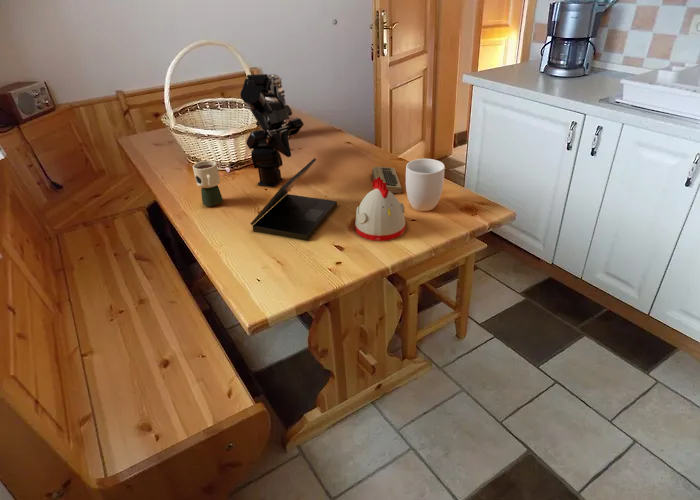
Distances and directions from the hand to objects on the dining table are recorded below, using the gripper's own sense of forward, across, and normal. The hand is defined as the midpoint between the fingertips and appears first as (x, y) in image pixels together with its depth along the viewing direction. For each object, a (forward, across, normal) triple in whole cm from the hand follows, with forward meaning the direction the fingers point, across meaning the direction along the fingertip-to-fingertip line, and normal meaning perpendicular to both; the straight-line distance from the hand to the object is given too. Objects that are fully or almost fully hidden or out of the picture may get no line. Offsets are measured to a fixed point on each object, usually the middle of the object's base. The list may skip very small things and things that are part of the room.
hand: (289, 156), depth 144 cm
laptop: (+18, -9, +1) cm, 20 cm away
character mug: (-1, -20, +20) cm, 29 cm away
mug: (+34, +22, -15) cm, 43 cm away
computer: (+21, +26, -2) cm, 33 cm away
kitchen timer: (+34, +3, -15) cm, 37 cm away
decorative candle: (-25, +31, +43) cm, 59 cm away
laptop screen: (+11, -10, -3) cm, 15 cm away
